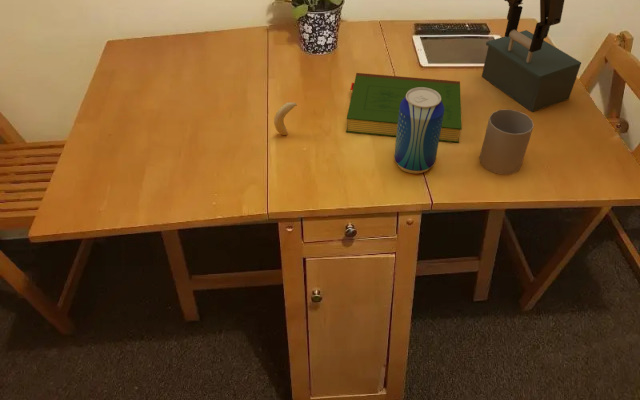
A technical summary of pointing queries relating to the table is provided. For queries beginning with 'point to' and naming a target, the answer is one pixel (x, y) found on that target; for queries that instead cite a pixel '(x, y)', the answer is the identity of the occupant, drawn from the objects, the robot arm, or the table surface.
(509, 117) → the cup
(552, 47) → the lid
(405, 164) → the beer can
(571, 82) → the chest
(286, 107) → the fruit
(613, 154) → the table surface
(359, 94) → the hardcover book
